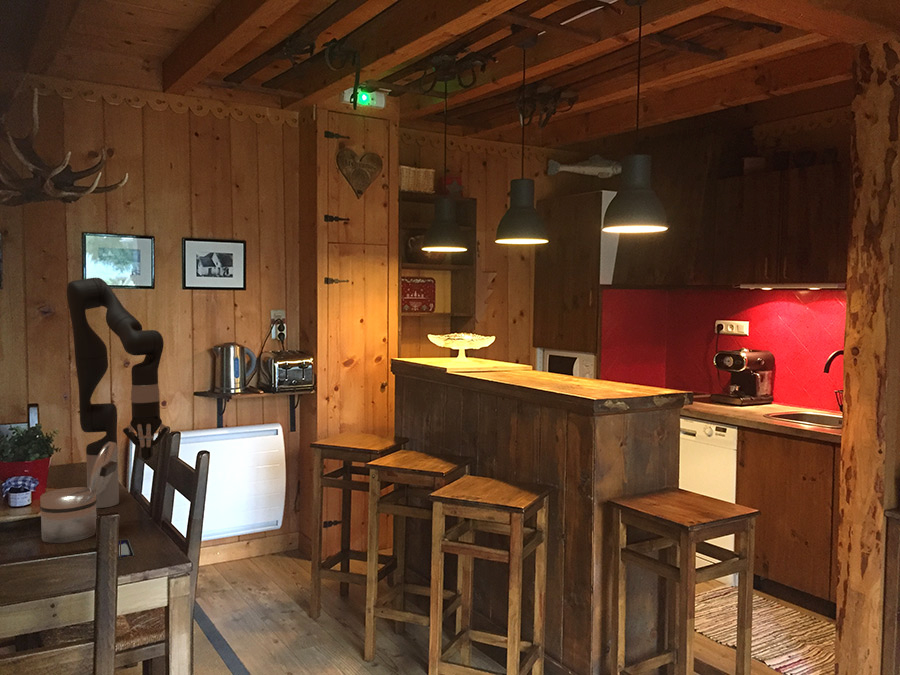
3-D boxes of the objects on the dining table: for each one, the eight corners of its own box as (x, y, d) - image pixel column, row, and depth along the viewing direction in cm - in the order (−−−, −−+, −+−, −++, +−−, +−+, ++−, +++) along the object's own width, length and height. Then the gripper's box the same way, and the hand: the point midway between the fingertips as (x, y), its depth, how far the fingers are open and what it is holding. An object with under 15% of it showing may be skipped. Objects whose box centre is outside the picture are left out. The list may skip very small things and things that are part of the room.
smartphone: (103, 561, 188) (99, 543, 201) (103, 564, 188) (99, 546, 202) (134, 556, 192) (128, 538, 205) (134, 559, 192) (128, 542, 205)
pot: (55, 528, 217) (53, 487, 217) (105, 526, 218) (104, 486, 218) (31, 544, 203) (29, 500, 202) (85, 542, 204) (84, 499, 204)
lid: (117, 437, 218) (127, 439, 218) (105, 486, 218) (114, 488, 218) (97, 447, 203) (107, 449, 203) (84, 499, 203) (94, 501, 203)
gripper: (173, 397, 216) (174, 456, 217) (126, 398, 215) (128, 457, 216) (165, 401, 209) (167, 461, 210) (117, 402, 208) (118, 463, 209)
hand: (147, 459), depth 213 cm, fingers closed
